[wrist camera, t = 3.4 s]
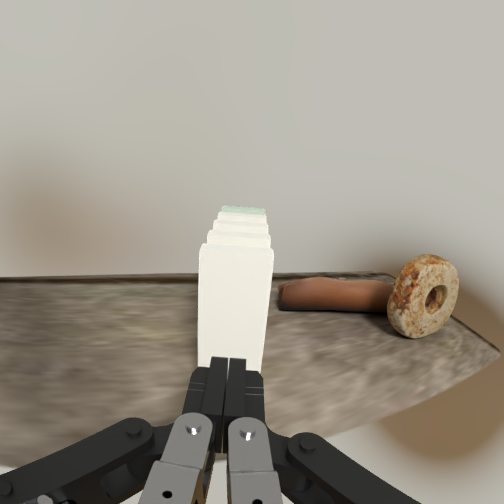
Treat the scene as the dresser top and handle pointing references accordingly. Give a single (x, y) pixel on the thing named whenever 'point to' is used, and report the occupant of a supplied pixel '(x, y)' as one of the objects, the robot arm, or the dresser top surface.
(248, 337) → the domino
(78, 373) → the dresser top surface
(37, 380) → the dresser top surface
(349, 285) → the sunglasses case
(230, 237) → the domino
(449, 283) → the stone disc
